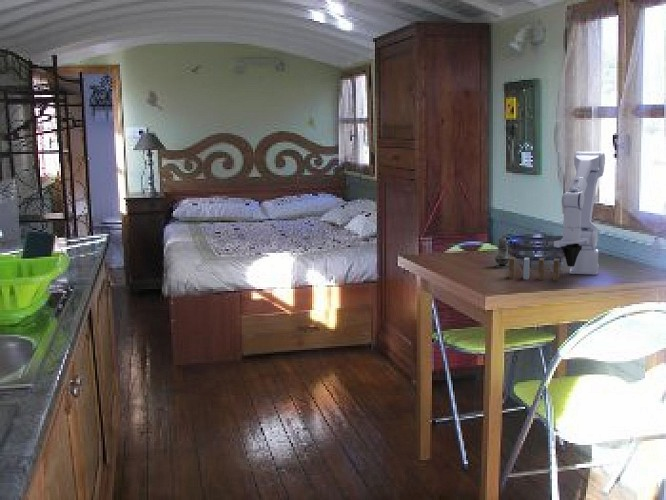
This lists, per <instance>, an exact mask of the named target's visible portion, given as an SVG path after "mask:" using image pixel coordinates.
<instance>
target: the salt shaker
mask: <svg viewBox="0 0 666 500" xmlns="http://www.w3.org/2000/svg"><path fill="white" fill-rule="evenodd" d="M507 243H508V242H507V238H505V237H504V235H502V237H501V238H499V239H498V247H497V249H498V250H497V251H498V253H497V255H496V256H494V259H495V263H496V265H495V266H494V267H495V268H496V269H497V268H498V269H509V264H508V263H509V259H510V257H511V256H508V253H507V249H508V246H507Z"/></svg>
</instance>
